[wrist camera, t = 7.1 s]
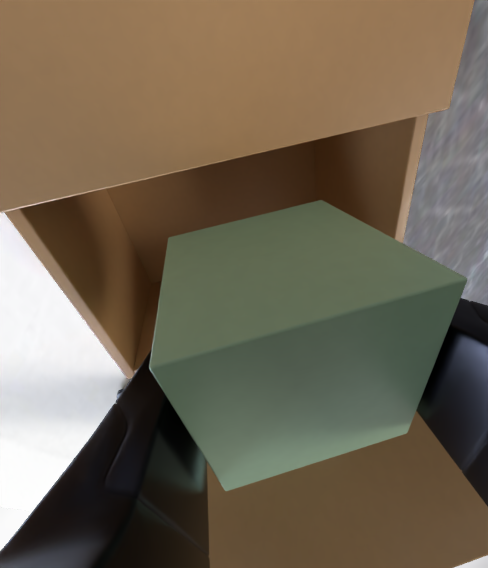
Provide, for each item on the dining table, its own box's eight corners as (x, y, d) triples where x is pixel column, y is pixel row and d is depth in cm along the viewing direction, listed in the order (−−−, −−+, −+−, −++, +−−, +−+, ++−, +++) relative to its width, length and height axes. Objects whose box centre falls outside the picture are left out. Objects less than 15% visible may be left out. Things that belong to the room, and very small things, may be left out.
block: (321, 315, 11) (408, 433, 7) (209, 346, 10) (225, 492, 6) (321, 199, 8) (470, 278, 4) (167, 237, 8) (147, 368, 3)
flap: (401, 312, 12) (397, 315, 13) (123, 391, 12) (127, 392, 12) (544, 535, 8) (533, 531, 9) (126, 687, 7) (132, 675, 8)
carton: (319, 242, 20) (401, 314, 12) (148, 286, 19) (123, 394, 12) (315, -117, 11) (653, -741, 3) (-23, -62, 10) (-797, -759, 2)
